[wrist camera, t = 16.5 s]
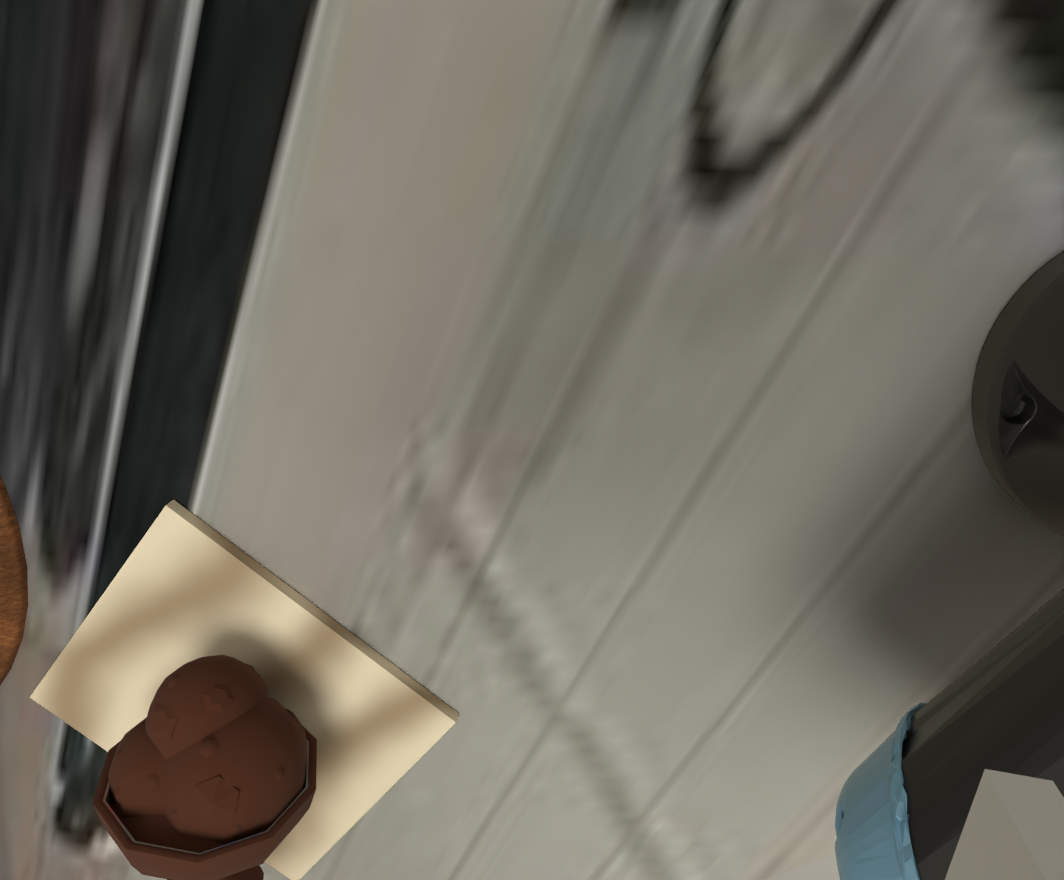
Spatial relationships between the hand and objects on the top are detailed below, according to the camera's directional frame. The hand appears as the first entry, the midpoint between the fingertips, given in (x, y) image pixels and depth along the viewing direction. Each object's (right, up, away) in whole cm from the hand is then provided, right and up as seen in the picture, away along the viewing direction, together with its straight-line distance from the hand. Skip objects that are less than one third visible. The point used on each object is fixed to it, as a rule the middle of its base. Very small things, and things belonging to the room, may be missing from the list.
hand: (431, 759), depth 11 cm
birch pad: (-16, -11, +39) cm, 44 cm away
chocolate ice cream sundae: (-17, -22, +37) cm, 46 cm away
